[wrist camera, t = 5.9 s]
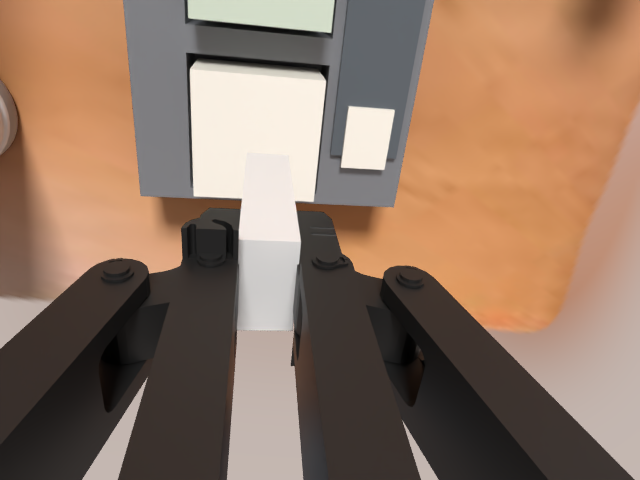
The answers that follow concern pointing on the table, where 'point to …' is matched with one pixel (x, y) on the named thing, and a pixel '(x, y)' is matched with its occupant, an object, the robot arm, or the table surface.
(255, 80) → the cream key
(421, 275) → the robot arm
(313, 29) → the sage key
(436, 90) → the table surface
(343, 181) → the grey piece
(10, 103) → the travel mug
